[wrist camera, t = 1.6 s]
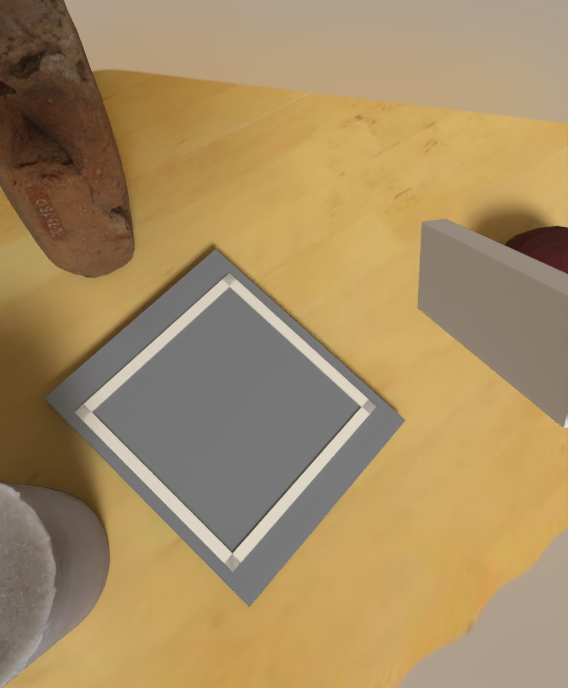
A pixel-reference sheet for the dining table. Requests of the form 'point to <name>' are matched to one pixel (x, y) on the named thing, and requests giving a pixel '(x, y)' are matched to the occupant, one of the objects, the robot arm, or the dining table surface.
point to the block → (59, 142)
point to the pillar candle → (45, 570)
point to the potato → (544, 246)
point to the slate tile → (227, 421)
